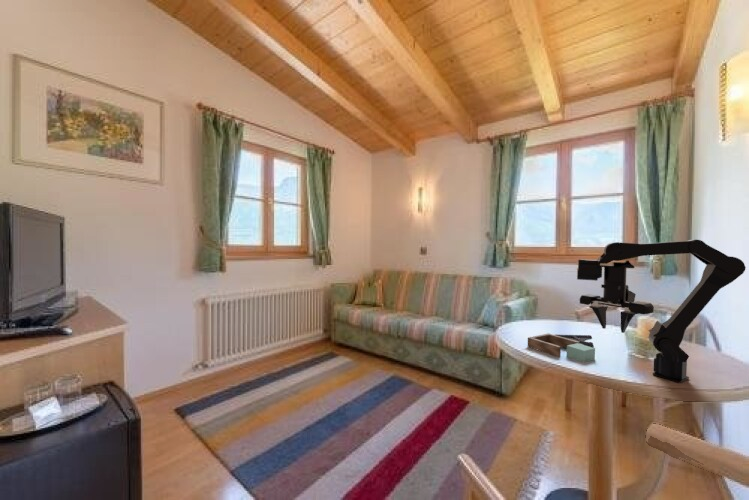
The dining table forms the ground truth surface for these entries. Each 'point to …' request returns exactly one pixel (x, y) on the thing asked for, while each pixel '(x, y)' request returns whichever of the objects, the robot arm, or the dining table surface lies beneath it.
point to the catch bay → (550, 343)
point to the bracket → (581, 340)
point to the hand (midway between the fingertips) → (613, 330)
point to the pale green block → (580, 352)
